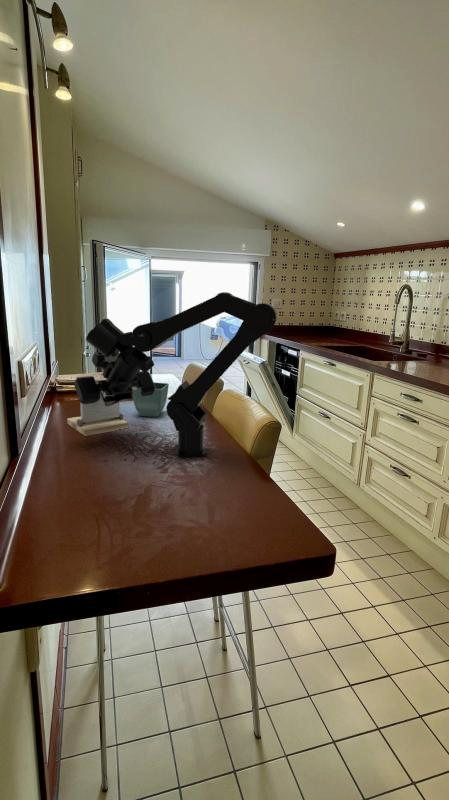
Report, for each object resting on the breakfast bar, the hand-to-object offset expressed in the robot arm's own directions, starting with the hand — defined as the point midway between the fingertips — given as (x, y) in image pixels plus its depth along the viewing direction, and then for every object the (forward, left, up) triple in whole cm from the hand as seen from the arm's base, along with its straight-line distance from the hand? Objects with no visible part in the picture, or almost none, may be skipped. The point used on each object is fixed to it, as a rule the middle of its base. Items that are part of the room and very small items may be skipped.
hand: (106, 404), depth 108 cm
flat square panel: (+4, +2, -5) cm, 6 cm away
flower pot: (+15, -12, -7) cm, 20 cm away
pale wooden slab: (+5, +2, -7) cm, 9 cm away
